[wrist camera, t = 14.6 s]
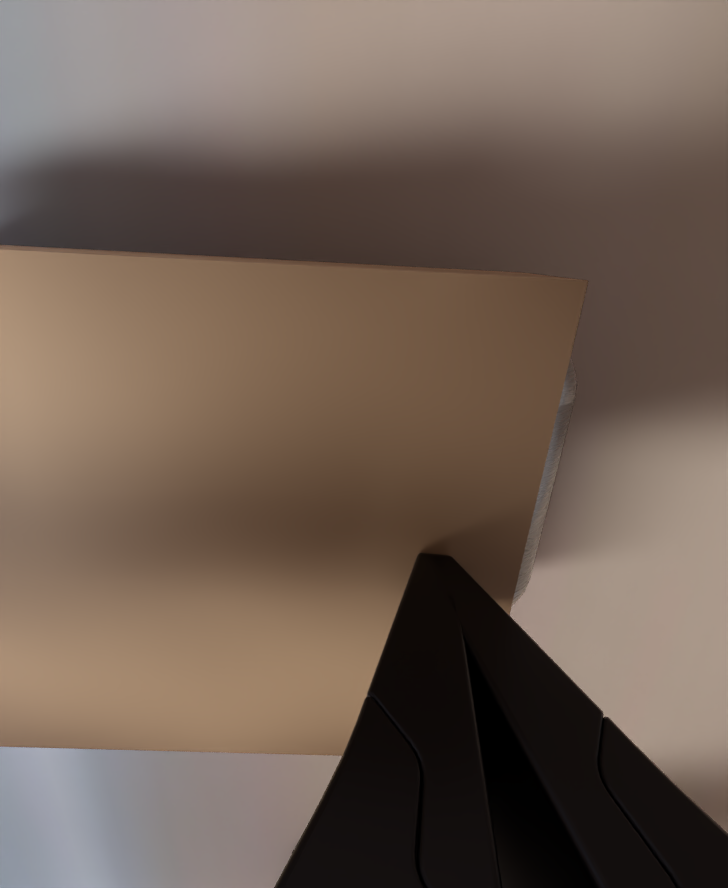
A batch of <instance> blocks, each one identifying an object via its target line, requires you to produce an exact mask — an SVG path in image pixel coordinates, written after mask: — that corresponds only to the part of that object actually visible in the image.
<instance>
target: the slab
mask: <svg viewBox="0 0 728 888" xmlns="http://www.w3.org/2000/svg"><path fill="white" fill-rule="evenodd" d="M587 285H588V281H587V280H579V279H571V278H563V277H555V276H547V275H539V274H531V273H521V272H502V271H483V270H464V269H446V268H427V267H408V266H389V265H371V264H352V263H333V262H314V261H296V260H277V259H258V258H239V257H221V256H202V255H183V254H164V253H146V252H127V251H108V250H90V249H71V248H52V247H33V246H15V245H0V746H3V747H40V748H78V749H115V750H153V751H190V752H228V753H265V754H303V755H341V756H343V753H344V751H345V748H346V746H347V743H348V741H349V739H350V736H351V734H352V731H353V729H354V726H355V724H356V721H357V719H358V716H359V713H360V710H361V708H362V705H363V702H364V699H365V698H366V697H367V692H368V689H369V687H370V684H371V681H372V678H373V676H374V673H375V670H376V667H377V665H378V662H379V659H380V656H381V654H382V651H383V648H384V645H385V643H386V640H387V637H388V634H389V632H390V629H391V626H392V623H393V621H394V618H395V615H396V612H397V610H398V607H399V604H400V601H401V599H402V596H403V593H404V590H405V588H406V585H407V582H408V579H409V577H410V574H411V571H412V568H413V566H414V563H415V560H416V557H417V555H418V554H419V553H430V554H440V555H449V556H452V557H453V558H454V559H455V560H456V561H457V562H458V563H459V564H460V565H461V566H462V567H463V568H464V569H465V570H466V571H467V572H468V573H469V574H470V575H471V576H472V577H473V579H474V580H475V581H476V582H477V583H478V584H479V585H480V586H481V587H482V588H483V589H484V590H485V591H486V592H487V593H488V594H489V595H490V596H491V597H492V598H493V599H494V600H495V601H496V602H497V603H498V604H499V605H500V606H501V607H502V608H503V609H504V610H505V611H506V613H507V614H508V615H509V614H510V610H511V606H512V602H513V598H514V593H515V589H516V585H517V581H518V576H519V572H520V568H521V564H522V559H523V555H524V551H525V547H526V543H527V538H528V534H529V530H530V526H531V521H532V517H533V513H534V509H535V505H536V500H537V496H538V492H539V488H540V483H541V479H542V475H543V471H544V467H545V462H546V458H547V454H548V450H549V445H550V441H551V437H552V433H553V429H554V424H555V420H556V416H557V412H558V407H559V403H560V399H561V395H562V391H563V386H564V382H565V378H566V374H567V369H568V365H569V361H570V357H571V353H572V348H573V344H574V340H575V336H576V331H577V327H578V323H579V319H580V315H581V310H582V306H583V302H584V298H585V293H586V289H587Z"/></svg>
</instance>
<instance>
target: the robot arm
mask: <svg viewBox="0 0 728 888" xmlns="http://www.w3.org/2000/svg"><path fill="white" fill-rule="evenodd" d="M274 888H728V833H727V832H726V831H725V830H723V829H722V828H721V827H720V826H719V825H718V824H717V823H716V822H715V821H714V820H713V819H712V818H711V817H710V816H708V815H707V814H706V813H705V812H704V811H703V810H702V809H701V808H700V807H699V806H698V805H697V804H696V803H695V802H694V801H692V800H691V799H690V798H689V797H688V796H687V795H686V794H685V793H684V792H683V791H682V790H681V789H680V788H679V787H677V786H676V785H675V784H674V783H673V782H672V781H671V780H670V779H669V778H668V777H667V776H666V775H665V774H664V773H663V772H662V771H661V770H660V769H659V768H658V767H657V766H656V765H655V764H654V763H653V762H652V761H651V760H650V759H649V758H648V757H647V756H646V755H645V754H644V753H643V752H642V751H641V750H640V749H639V748H638V747H637V746H636V745H635V744H634V743H633V742H632V741H631V740H630V739H629V738H628V737H627V736H626V735H625V734H624V733H623V732H622V731H621V730H620V729H619V728H618V727H617V726H616V725H615V724H614V723H613V721H612V720H611V719H610V718H608V717H604V718H603V712H602V710H601V709H600V708H599V707H598V706H597V705H596V704H595V703H594V702H593V701H592V700H591V699H590V698H589V697H588V696H587V695H586V694H585V693H584V692H583V691H582V690H581V689H580V688H579V687H578V686H577V685H576V684H575V683H574V682H573V681H572V680H571V678H570V677H569V676H568V675H567V674H566V673H565V672H564V671H563V670H562V669H561V668H560V667H559V666H558V665H557V664H556V663H555V662H554V661H553V660H552V659H551V658H550V657H549V656H548V655H547V654H546V653H545V652H544V651H543V650H542V649H541V648H540V647H539V645H538V644H537V643H536V642H535V641H534V640H533V639H532V638H531V637H530V636H529V635H528V634H527V633H526V632H525V631H524V630H523V629H522V628H521V627H520V626H519V625H518V624H517V623H516V622H515V621H514V620H513V619H512V618H511V617H510V616H509V615H508V614H507V613H506V611H505V610H504V609H503V608H502V607H501V606H500V605H499V604H498V603H497V602H496V601H495V600H494V599H493V598H492V597H491V596H490V595H489V594H488V593H487V592H486V591H485V590H484V589H483V588H482V587H481V586H480V585H479V584H478V583H477V582H476V581H475V580H474V579H473V577H472V576H471V575H470V574H469V573H468V572H467V571H466V570H465V569H464V568H463V567H462V566H461V565H460V564H459V563H458V562H457V561H456V560H455V559H454V558H453V557H452V556H449V555H440V554H430V553H419V554H418V555H417V557H416V560H415V563H414V566H413V568H412V571H411V574H410V577H409V579H408V582H407V585H406V588H405V590H404V593H403V596H402V599H401V601H400V604H399V607H398V610H397V612H396V615H395V618H394V621H393V623H392V626H391V629H390V632H389V634H388V637H387V640H386V643H385V645H384V648H383V651H382V654H381V656H380V659H379V662H378V665H377V667H376V670H375V673H374V676H373V678H372V681H371V684H370V687H369V689H368V692H367V697H366V698H365V699H364V702H363V705H362V708H361V710H360V713H359V716H358V719H357V721H356V724H355V726H354V729H353V731H352V734H351V736H350V739H349V741H348V743H347V746H346V748H345V751H344V753H343V756H342V758H341V760H340V762H339V764H338V766H337V768H336V770H335V772H334V774H333V776H332V778H331V780H330V782H329V785H328V787H327V789H326V791H325V793H324V795H323V797H322V799H321V801H320V803H319V805H318V807H317V808H316V810H315V812H314V814H313V816H312V818H311V820H310V822H309V823H308V825H307V827H306V829H305V831H304V833H303V835H302V836H301V838H300V840H299V842H298V844H297V846H296V848H295V850H293V852H292V855H291V857H290V859H289V861H288V863H287V865H286V866H285V868H284V870H283V872H282V874H281V876H280V878H279V880H278V881H277V883H276V885H275V887H274Z"/></svg>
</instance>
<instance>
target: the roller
mask: <svg viewBox="0 0 728 888" xmlns="http://www.w3.org/2000/svg"><path fill="white" fill-rule="evenodd" d="M576 387H577V383H576V372H575V368H574V365H573V362H572V359H571V357H570V361H569V365H568V369H567V374H566V378H565V382H564V386H563V391H562V395H561V399H560V403H559V407H558V412H557V416H556V420H555V424H554V429H553V433H552V437H551V441H550V445H549V450H548V454H547V458H546V462H545V467H544V471H543V475H542V479H541V483H540V488H539V492H538V496H537V500H536V505H535V509H534V513H533V517H532V521H531V526H530V530H529V534H528V538H527V543H526V547H525V551H524V555H523V559H522V564H521V568H520V572H519V576H518V581H517V585H516V589H515V593H514V598H513V602H512V605H513V604H515V603H516V601H517V600H518V599H519V598H520V597H521V596H522V594H523V593H524V592H525V589H526V587H527V585H528V582H529V580H530V577H531V573H532V569H533V565H534V561H535V557H536V553H537V549H538V545H539V541H540V537H541V533H542V529H543V525H544V521H545V517H546V513H547V509H548V505H549V501H550V497H551V493H552V489H553V485H554V481H555V477H556V473H557V469H558V465H559V461H560V457H561V453H562V449H563V445H564V441H565V437H566V432H567V428H568V424H569V420H570V416H571V412H572V408H573V404H574V400H575V395H576Z"/></svg>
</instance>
